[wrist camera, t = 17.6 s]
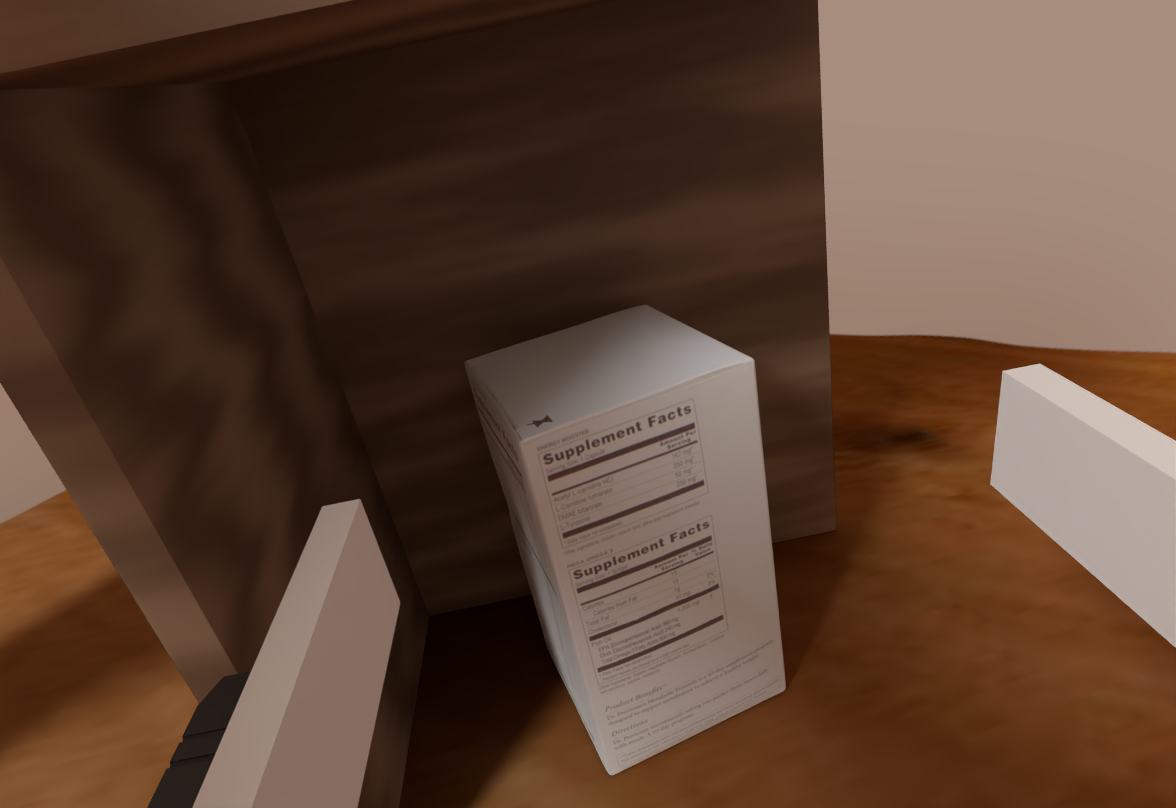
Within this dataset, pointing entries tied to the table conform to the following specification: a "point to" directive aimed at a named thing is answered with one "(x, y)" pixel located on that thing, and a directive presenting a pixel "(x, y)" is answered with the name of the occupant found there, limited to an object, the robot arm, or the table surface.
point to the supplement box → (639, 522)
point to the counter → (382, 272)
